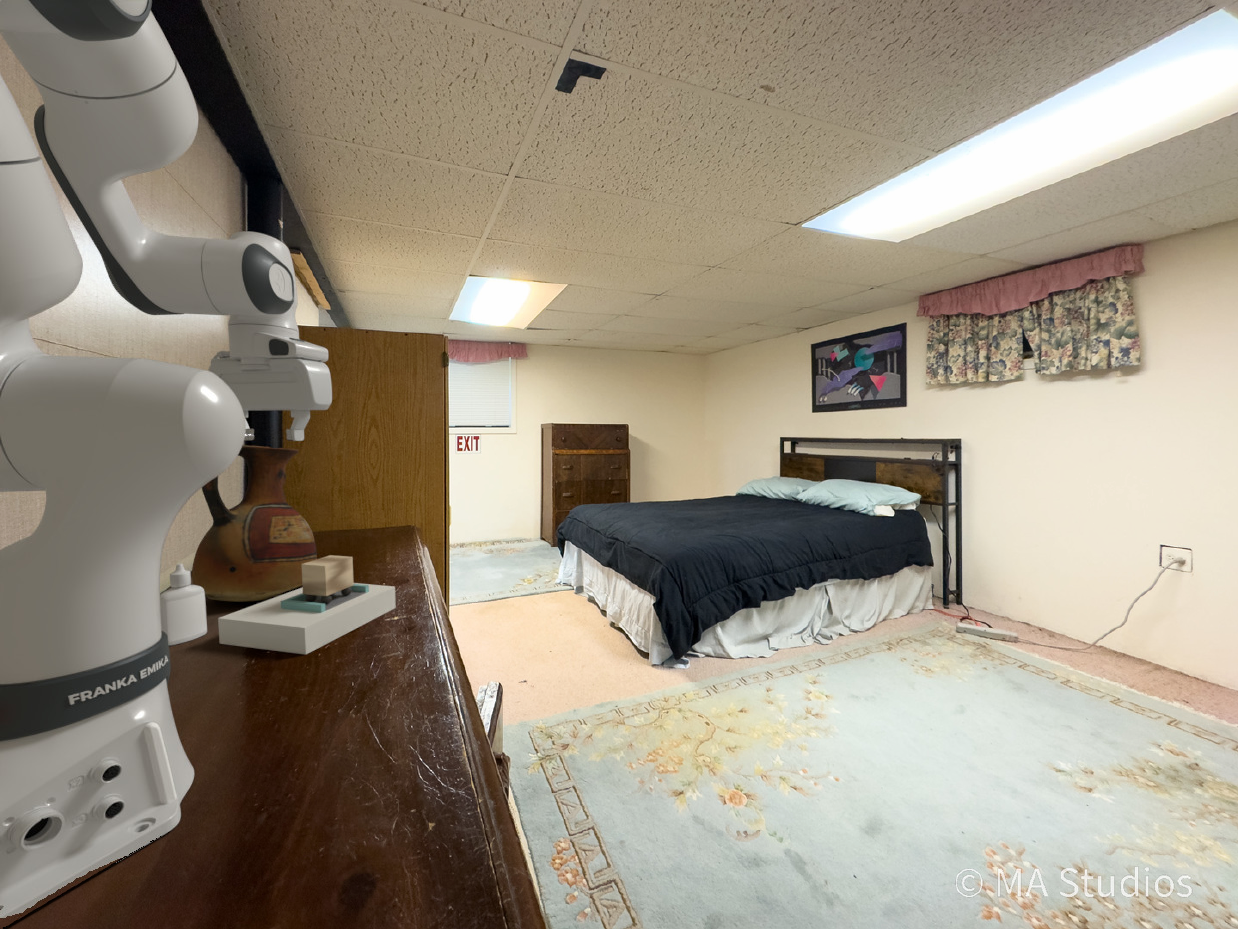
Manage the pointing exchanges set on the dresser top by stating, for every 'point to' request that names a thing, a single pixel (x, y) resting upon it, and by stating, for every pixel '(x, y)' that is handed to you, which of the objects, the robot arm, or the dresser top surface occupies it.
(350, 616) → the dock
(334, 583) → the beige wheeled cart
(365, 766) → the dresser top surface
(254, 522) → the ceramic pitcher
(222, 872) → the dresser top surface
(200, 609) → the eye dropper bottle
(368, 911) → the dresser top surface
